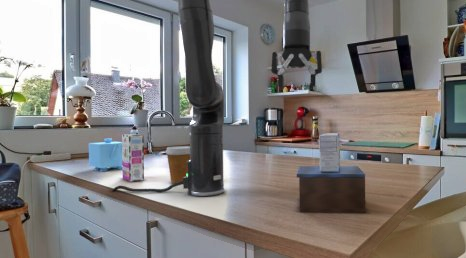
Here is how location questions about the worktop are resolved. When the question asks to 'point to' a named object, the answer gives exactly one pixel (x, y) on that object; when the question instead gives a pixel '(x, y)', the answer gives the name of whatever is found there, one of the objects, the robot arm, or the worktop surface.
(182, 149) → the disposable coffee cup
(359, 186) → the chest
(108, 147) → the teapot
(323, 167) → the medicine box
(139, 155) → the candy bar box
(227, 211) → the worktop surface
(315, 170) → the chest lid
